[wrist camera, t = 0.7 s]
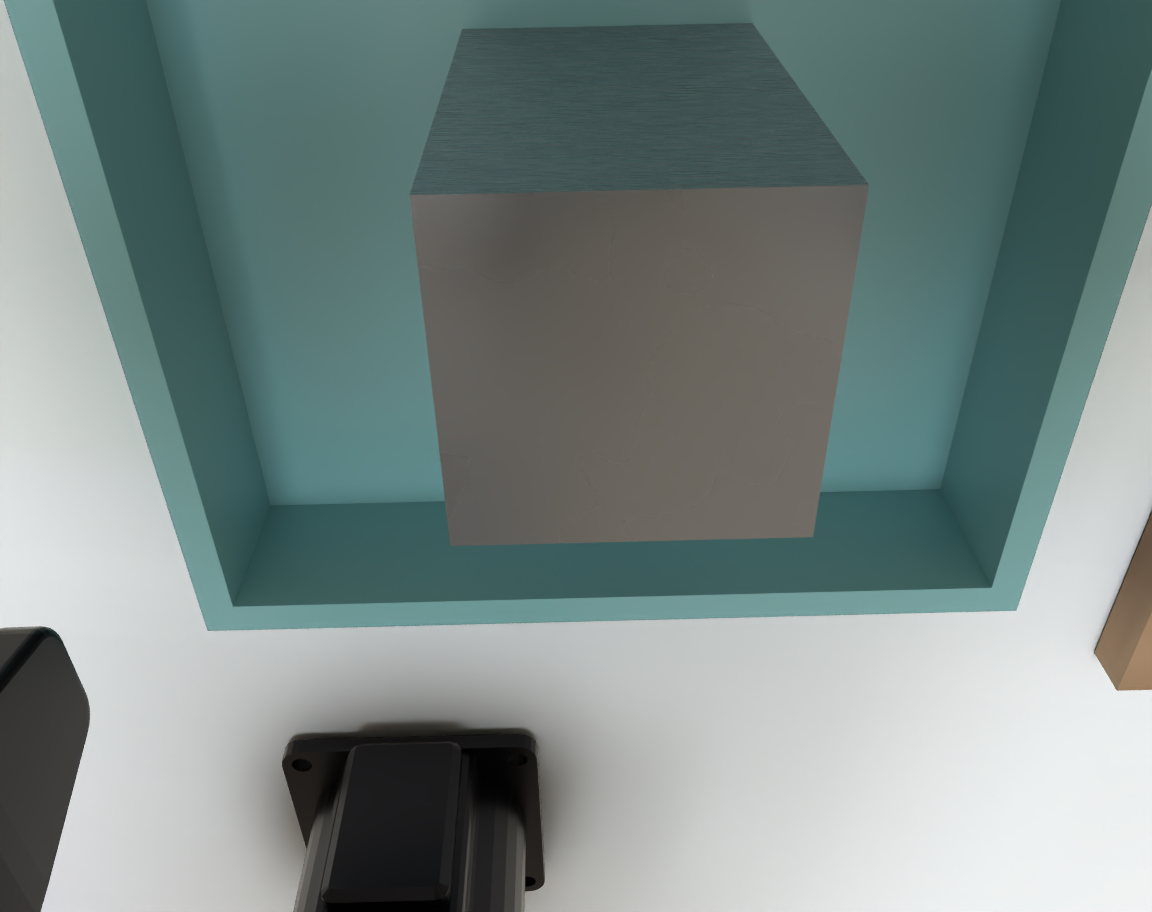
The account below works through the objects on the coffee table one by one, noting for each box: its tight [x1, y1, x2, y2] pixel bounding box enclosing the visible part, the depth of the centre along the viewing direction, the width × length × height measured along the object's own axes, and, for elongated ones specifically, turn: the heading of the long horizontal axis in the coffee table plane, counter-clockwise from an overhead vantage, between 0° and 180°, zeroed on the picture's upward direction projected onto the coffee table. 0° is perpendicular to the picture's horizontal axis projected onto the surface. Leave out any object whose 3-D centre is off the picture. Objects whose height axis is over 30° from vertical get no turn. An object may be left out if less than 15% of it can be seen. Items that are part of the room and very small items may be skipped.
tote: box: [4, 0, 1152, 631], centre depth 16 cm, size 15×15×3 cm
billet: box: [409, 23, 869, 546], centre depth 14 cm, size 4×4×7 cm
